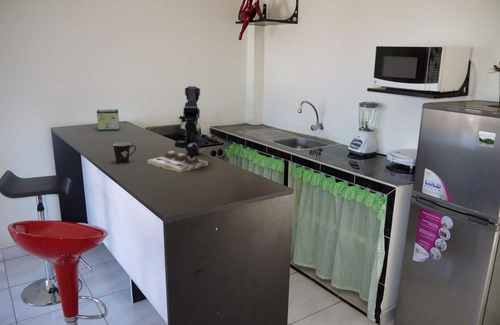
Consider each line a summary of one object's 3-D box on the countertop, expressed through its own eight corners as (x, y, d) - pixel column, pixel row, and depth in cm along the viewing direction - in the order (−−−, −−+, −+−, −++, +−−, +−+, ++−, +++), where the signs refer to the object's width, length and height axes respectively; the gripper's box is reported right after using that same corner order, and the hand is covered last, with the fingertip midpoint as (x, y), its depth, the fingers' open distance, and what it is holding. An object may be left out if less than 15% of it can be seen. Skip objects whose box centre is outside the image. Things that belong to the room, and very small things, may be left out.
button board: (175, 157, 222) (174, 150, 221) (207, 165, 207) (207, 158, 206) (147, 163, 207) (146, 156, 206) (180, 172, 192) (179, 165, 191)
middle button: (181, 156, 211) (181, 152, 210) (186, 157, 209) (186, 153, 208) (176, 157, 208) (176, 153, 207) (181, 158, 206) (181, 154, 205)
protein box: (98, 129, 302) (97, 109, 298) (119, 128, 306) (118, 109, 302) (97, 131, 292) (96, 111, 288) (119, 130, 297) (118, 110, 293)
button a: (171, 153, 215) (171, 150, 215) (176, 154, 213) (176, 151, 213) (166, 154, 213) (166, 151, 212) (171, 155, 211) (171, 152, 210)
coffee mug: (113, 164, 203) (112, 146, 200) (114, 160, 211) (113, 142, 208) (136, 163, 206) (135, 145, 203) (136, 159, 214) (135, 142, 211)
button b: (191, 160, 206) (191, 156, 206) (196, 161, 204) (196, 158, 204) (186, 161, 204) (186, 158, 203) (191, 162, 202) (191, 159, 201)
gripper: (189, 133, 188) (189, 164, 192) (214, 129, 202) (214, 157, 206) (173, 130, 194) (174, 160, 198) (199, 126, 208) (199, 154, 213)
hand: (191, 158), depth 204 cm, fingers closed, pressing on button b
